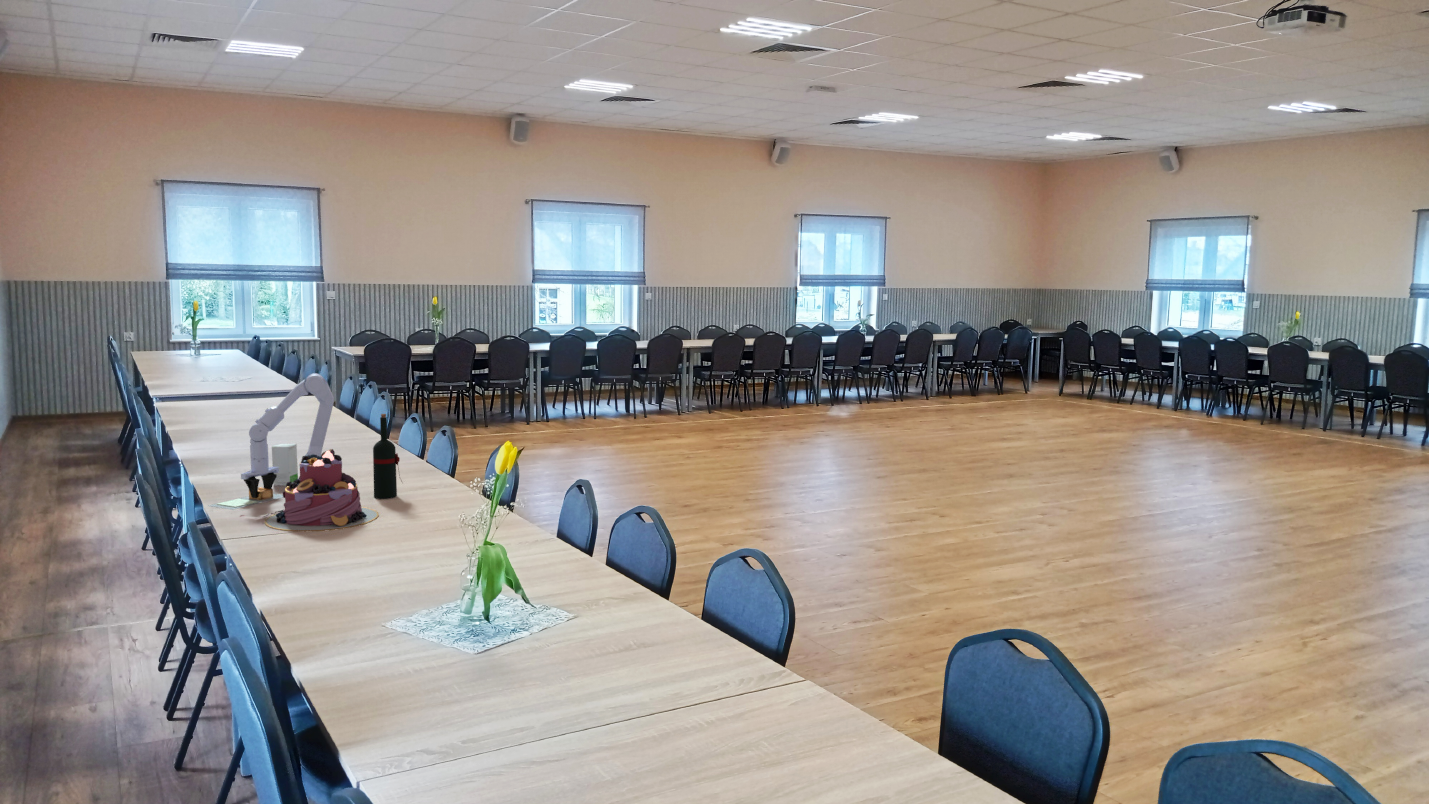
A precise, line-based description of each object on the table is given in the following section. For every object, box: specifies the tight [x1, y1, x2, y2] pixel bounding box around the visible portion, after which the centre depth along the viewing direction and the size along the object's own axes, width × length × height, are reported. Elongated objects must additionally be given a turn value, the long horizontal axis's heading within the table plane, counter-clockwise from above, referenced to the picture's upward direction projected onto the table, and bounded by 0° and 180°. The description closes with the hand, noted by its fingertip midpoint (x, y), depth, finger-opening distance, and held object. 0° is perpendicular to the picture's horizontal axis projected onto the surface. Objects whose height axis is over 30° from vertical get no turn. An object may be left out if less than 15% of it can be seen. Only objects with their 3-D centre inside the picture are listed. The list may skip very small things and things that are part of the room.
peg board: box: [207, 493, 283, 510], centre depth 355 cm, size 12×24×3 cm, turn 156°
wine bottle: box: [372, 413, 404, 500], centre depth 367 cm, size 8×10×30 cm
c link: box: [248, 486, 274, 500], centre depth 359 cm, size 6×5×3 cm
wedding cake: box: [263, 448, 380, 533], centre depth 334 cm, size 35×35×23 cm
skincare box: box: [271, 443, 299, 487], centre depth 383 cm, size 8×7×16 cm
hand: (261, 496), depth 359 cm, fingers closed on c link, 5 cm apart
